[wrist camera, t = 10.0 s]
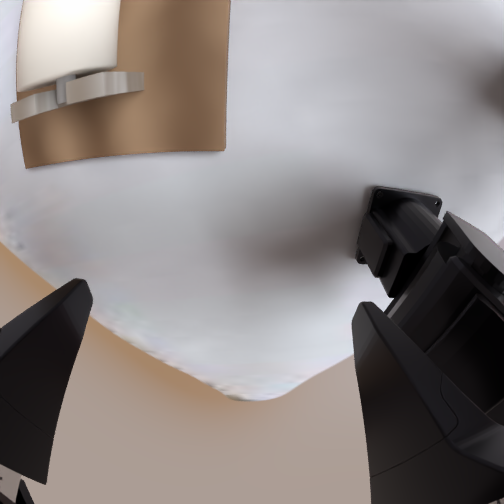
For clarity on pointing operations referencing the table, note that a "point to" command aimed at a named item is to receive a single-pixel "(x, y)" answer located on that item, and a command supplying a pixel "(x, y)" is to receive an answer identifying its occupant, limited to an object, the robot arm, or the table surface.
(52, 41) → the paper roll
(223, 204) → the table surface
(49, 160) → the roll cradle
